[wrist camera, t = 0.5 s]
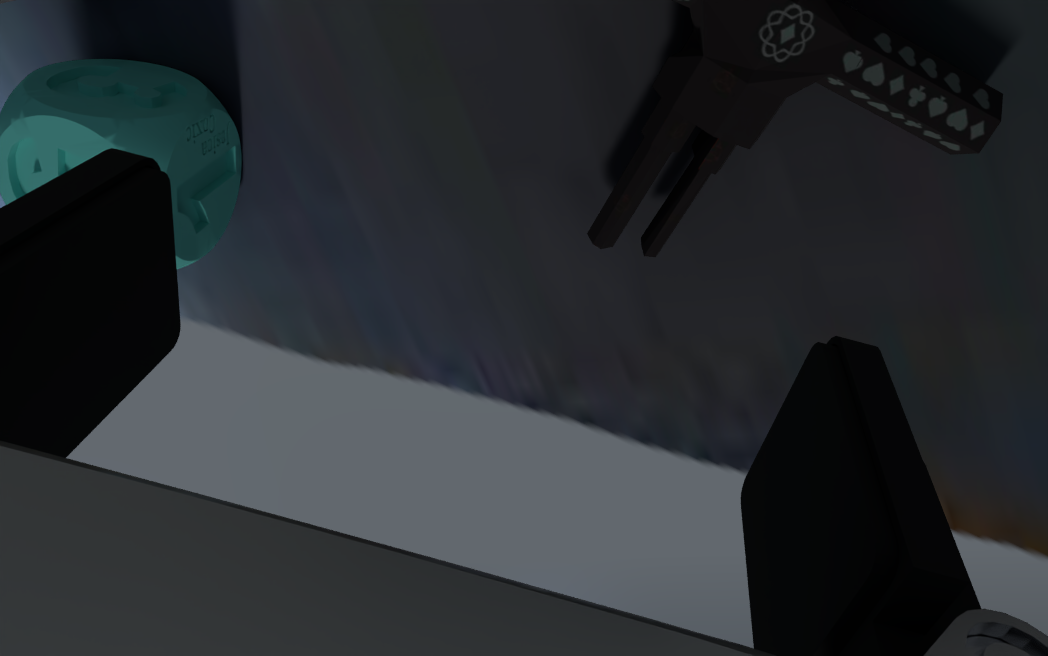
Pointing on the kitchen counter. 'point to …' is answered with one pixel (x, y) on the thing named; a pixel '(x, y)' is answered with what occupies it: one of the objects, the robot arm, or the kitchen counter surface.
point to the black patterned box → (785, 95)
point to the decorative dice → (127, 137)
